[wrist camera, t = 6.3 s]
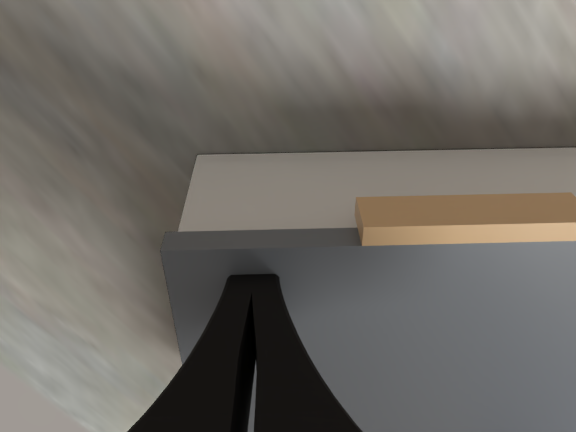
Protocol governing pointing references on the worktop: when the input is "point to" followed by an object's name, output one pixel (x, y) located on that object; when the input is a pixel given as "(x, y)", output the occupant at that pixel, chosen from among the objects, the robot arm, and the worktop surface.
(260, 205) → the storage box
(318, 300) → the lid
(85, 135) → the worktop surface
